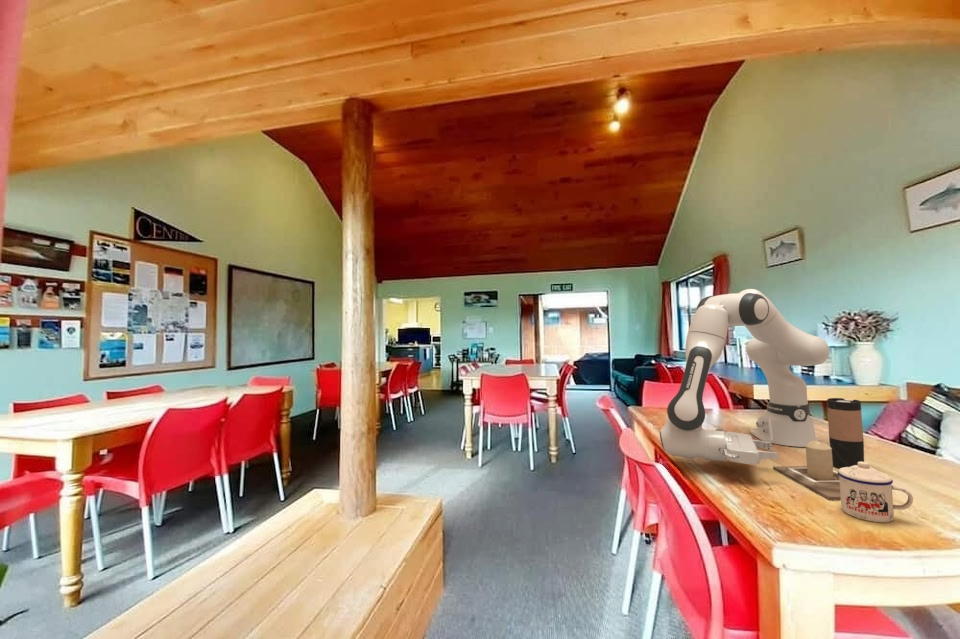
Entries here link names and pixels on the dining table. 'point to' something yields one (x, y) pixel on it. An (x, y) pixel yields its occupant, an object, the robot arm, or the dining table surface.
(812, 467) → the candle
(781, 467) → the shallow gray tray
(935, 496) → the dining table surface
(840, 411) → the travel mug
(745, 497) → the dining table surface
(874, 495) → the teacup with lid
